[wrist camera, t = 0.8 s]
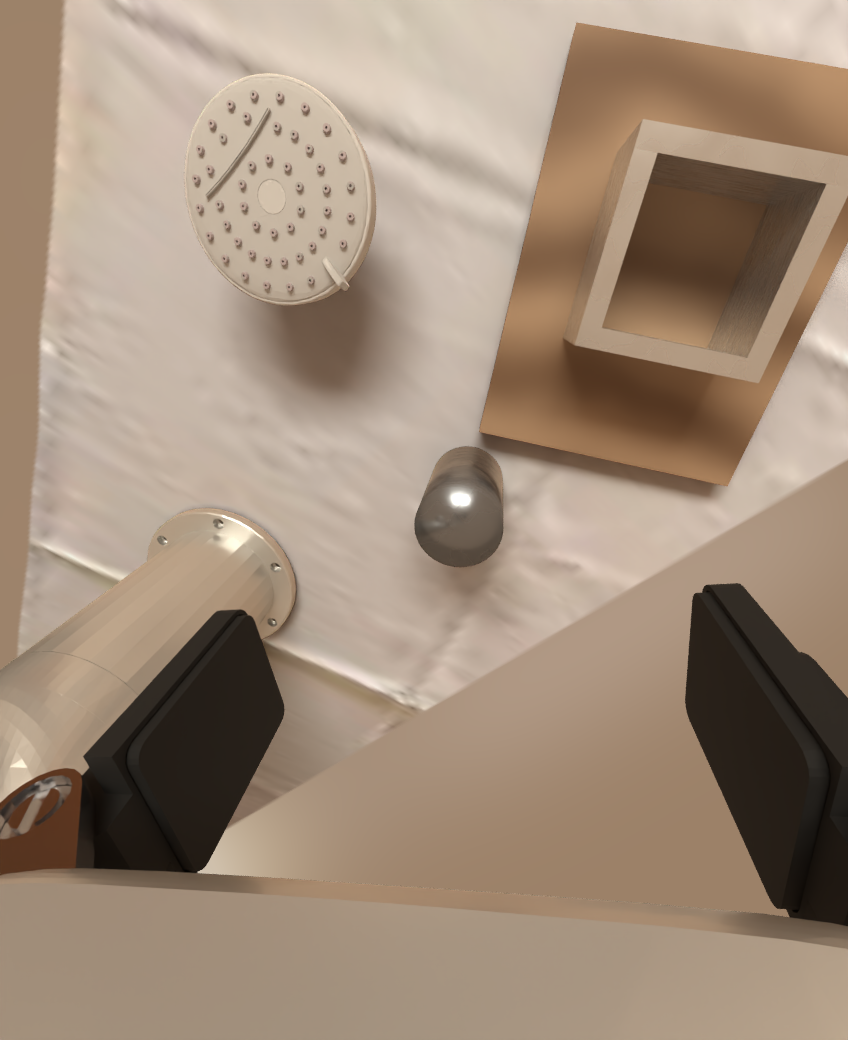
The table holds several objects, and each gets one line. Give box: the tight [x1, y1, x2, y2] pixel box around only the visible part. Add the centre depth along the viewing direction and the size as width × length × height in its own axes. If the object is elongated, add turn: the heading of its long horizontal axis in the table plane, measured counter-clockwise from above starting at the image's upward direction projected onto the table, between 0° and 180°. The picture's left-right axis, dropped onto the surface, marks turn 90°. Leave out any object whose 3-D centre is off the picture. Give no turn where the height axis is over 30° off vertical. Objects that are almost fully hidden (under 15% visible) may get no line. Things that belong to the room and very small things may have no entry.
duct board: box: [479, 23, 848, 486], centre depth 25 cm, size 20×16×6 cm
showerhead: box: [184, 73, 376, 305], centre depth 26 cm, size 9×7×10 cm
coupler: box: [415, 446, 503, 567], centre depth 31 cm, size 5×5×8 cm
